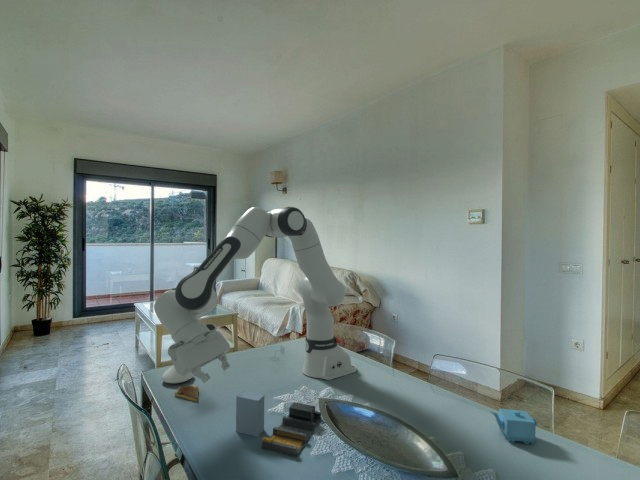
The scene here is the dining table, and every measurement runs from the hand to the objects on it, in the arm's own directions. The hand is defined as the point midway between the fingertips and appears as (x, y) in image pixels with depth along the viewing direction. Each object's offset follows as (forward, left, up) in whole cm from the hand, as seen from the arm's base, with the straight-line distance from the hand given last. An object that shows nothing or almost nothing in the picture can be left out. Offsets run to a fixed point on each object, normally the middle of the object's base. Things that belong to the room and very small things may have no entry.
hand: (217, 374), depth 99 cm
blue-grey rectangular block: (-8, +8, -14) cm, 18 cm away
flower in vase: (+8, -36, -15) cm, 40 cm away
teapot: (-74, +41, -15) cm, 86 cm away
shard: (+5, -22, -15) cm, 27 cm away
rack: (-19, +14, -14) cm, 27 cm away
